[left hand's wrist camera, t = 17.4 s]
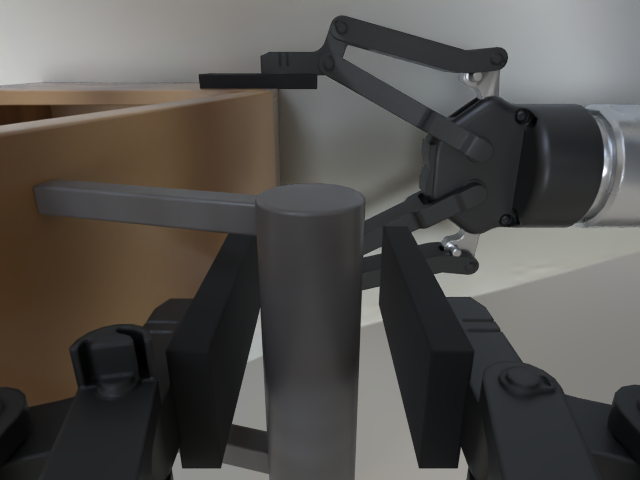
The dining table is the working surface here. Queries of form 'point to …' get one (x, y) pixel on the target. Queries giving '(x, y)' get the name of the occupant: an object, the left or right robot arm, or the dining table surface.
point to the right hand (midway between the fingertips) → (212, 166)
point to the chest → (106, 100)
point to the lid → (183, 259)
